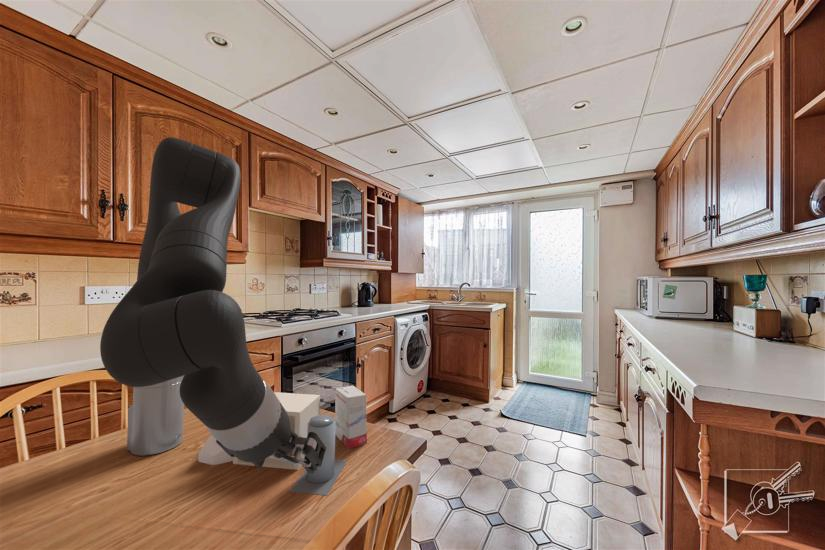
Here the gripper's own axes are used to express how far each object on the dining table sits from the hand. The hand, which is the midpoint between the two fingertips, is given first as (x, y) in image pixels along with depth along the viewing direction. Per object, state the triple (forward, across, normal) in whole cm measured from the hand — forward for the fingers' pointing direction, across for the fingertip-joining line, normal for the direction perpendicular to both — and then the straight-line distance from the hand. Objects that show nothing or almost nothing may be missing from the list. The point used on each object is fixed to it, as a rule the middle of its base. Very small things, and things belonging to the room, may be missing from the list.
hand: (287, 463), depth 51 cm
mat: (+14, -1, -2) cm, 14 cm away
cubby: (+19, +11, -6) cm, 22 cm away
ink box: (+25, -2, -13) cm, 28 cm away
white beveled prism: (+23, +24, -10) cm, 34 cm away
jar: (+14, -1, -2) cm, 14 cm away
